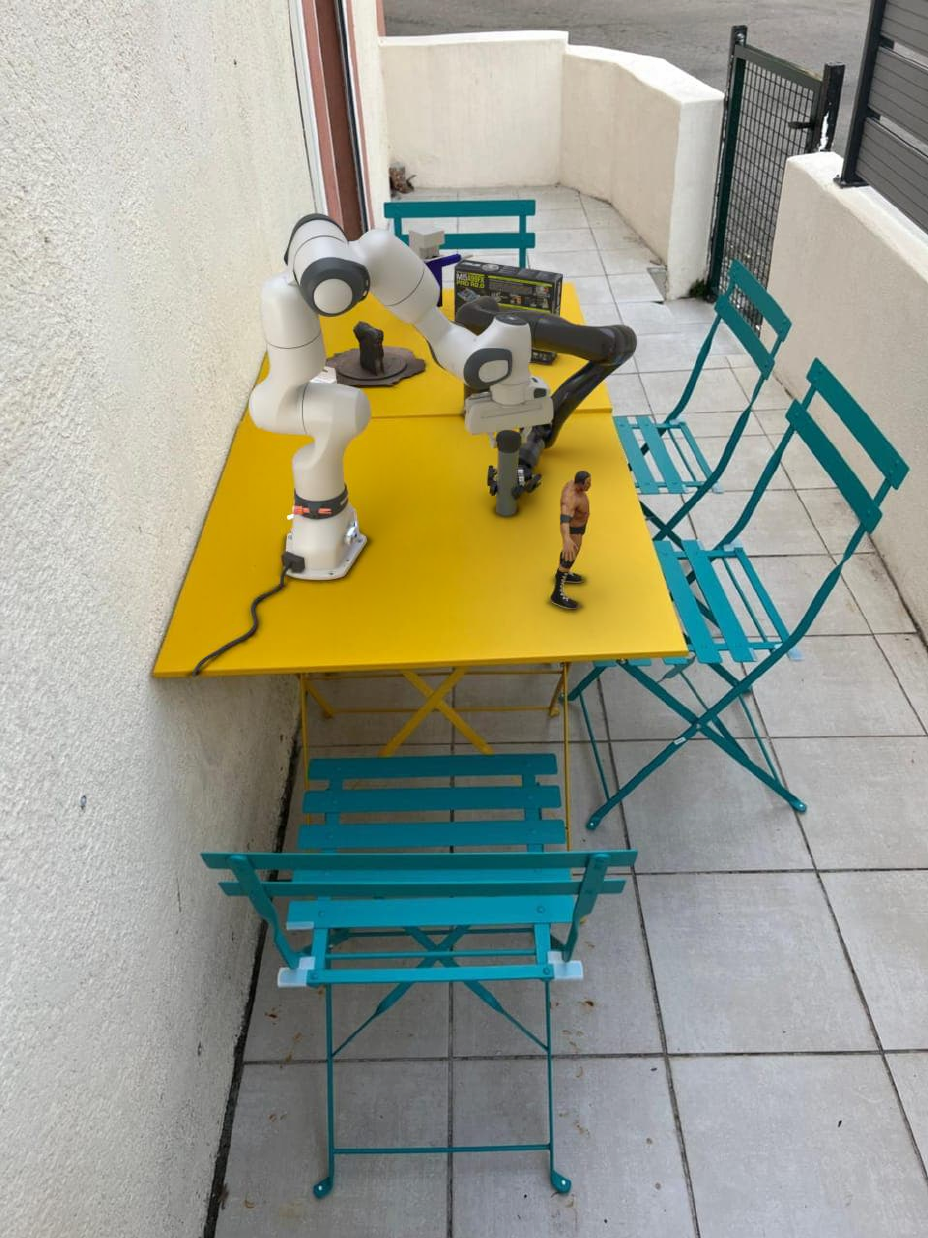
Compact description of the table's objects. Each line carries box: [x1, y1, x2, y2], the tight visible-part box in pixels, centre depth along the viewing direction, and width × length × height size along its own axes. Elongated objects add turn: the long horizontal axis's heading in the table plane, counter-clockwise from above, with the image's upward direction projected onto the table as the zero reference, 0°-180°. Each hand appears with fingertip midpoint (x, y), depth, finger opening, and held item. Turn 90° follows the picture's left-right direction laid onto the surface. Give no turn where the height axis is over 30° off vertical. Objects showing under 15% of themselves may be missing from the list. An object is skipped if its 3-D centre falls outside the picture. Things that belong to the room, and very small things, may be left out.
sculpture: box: [322, 320, 426, 387], centre depth 273 cm, size 33×35×16 cm
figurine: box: [550, 470, 592, 610], centre depth 182 cm, size 24×6×30 cm, turn 168°
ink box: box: [309, 366, 337, 384], centre depth 249 cm, size 9×5×15 cm, turn 62°
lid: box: [495, 429, 521, 451], centre depth 203 cm, size 6×6×2 cm
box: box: [453, 259, 564, 365], centre depth 278 cm, size 34×7×27 cm, turn 68°
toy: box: [408, 223, 474, 309], centre depth 298 cm, size 35×10×30 cm, turn 130°
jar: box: [495, 448, 519, 517], centre depth 210 cm, size 5×5×20 cm
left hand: (508, 444), depth 204 cm, fingers closed on lid, 5 cm apart
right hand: (504, 494), depth 210 cm, fingers closed on jar, 5 cm apart
